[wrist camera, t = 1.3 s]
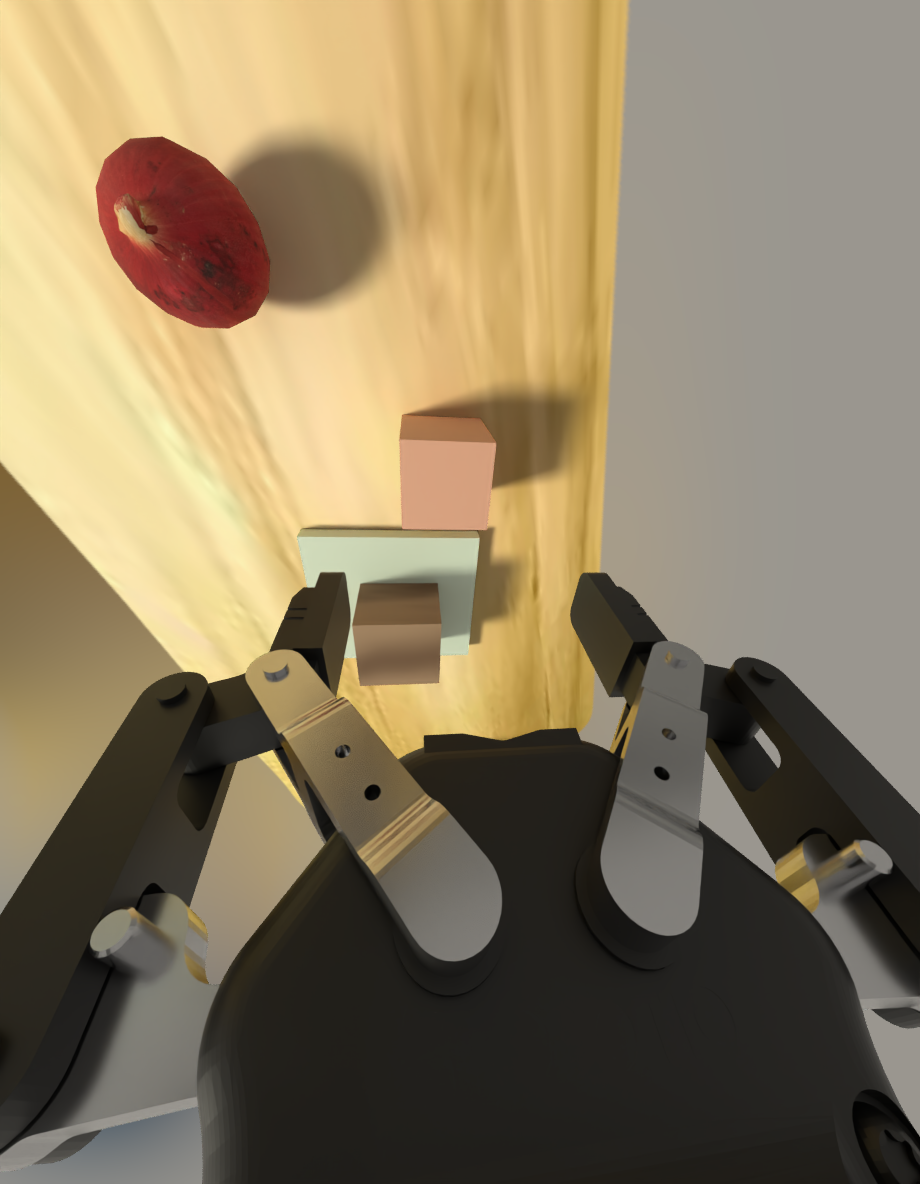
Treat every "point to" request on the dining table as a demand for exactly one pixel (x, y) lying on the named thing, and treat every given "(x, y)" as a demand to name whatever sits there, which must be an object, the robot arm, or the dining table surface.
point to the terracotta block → (445, 472)
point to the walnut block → (397, 633)
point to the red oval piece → (182, 233)
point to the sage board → (401, 570)
